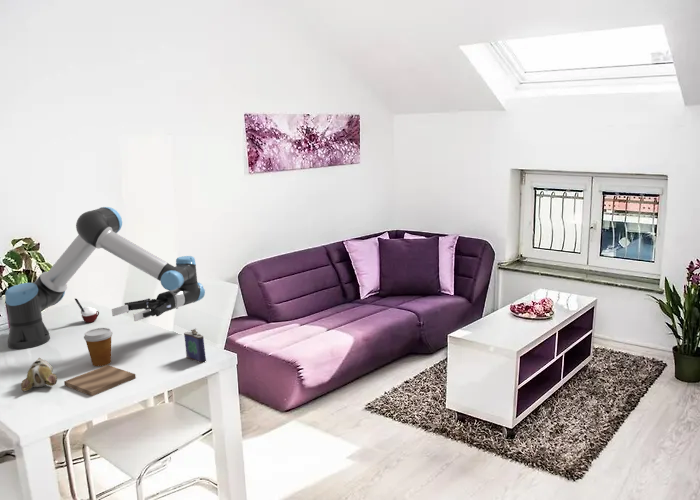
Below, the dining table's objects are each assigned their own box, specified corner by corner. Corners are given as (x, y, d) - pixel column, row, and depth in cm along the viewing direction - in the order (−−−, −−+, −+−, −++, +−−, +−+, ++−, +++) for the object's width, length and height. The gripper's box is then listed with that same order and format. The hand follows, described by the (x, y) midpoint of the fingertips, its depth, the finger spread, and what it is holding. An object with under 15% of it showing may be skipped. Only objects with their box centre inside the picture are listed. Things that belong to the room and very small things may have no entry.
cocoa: (99, 318, 272) (95, 292, 269) (102, 321, 266) (98, 295, 264) (76, 322, 267) (72, 296, 264) (78, 325, 261) (75, 299, 259)
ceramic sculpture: (55, 350, 207) (53, 367, 193) (59, 373, 209) (58, 391, 196) (21, 356, 203) (16, 374, 189) (25, 379, 205) (21, 399, 191)
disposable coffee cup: (105, 369, 211) (101, 336, 209) (82, 368, 213) (77, 335, 211) (121, 358, 220) (117, 327, 218) (98, 357, 222) (93, 327, 220)
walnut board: (64, 385, 198) (64, 381, 198) (108, 368, 211) (107, 364, 211) (92, 396, 189) (91, 391, 189) (135, 378, 202) (135, 374, 201)
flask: (184, 357, 218) (181, 327, 216) (192, 355, 221) (189, 325, 218) (201, 363, 212) (198, 332, 210) (208, 360, 214) (206, 330, 212)
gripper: (191, 313, 232) (145, 329, 215) (151, 305, 246) (105, 320, 230) (189, 294, 231) (142, 309, 214) (149, 287, 245) (102, 301, 228)
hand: (123, 315), depth 222 cm, fingers open, 13 cm apart
